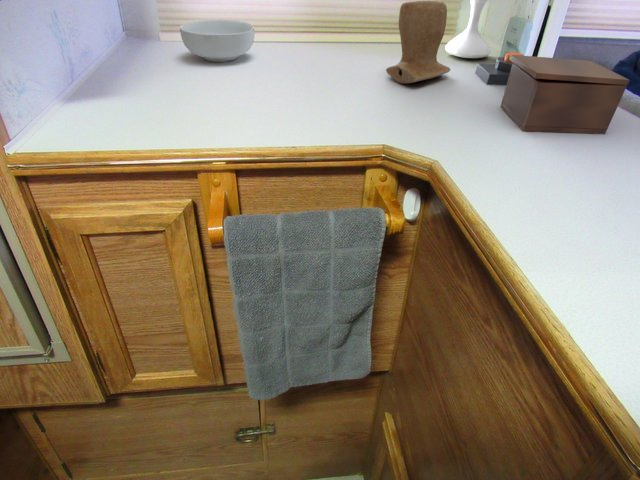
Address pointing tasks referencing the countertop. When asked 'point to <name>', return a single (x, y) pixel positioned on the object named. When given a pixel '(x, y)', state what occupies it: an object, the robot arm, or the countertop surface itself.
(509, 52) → the button
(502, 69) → the button block
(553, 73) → the lid
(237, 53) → the cereal bowl
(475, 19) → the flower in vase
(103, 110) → the countertop surface
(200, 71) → the countertop surface
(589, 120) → the chest
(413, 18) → the brown flared post
